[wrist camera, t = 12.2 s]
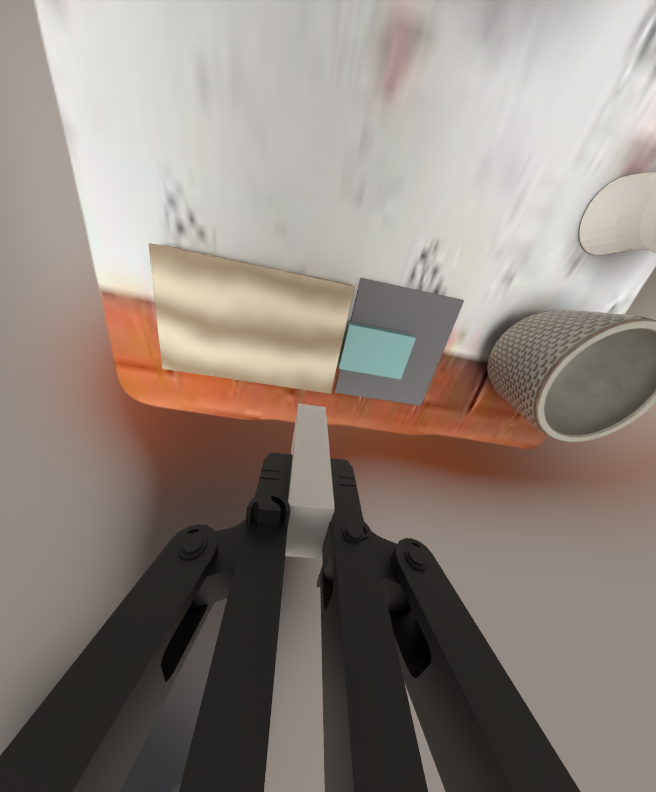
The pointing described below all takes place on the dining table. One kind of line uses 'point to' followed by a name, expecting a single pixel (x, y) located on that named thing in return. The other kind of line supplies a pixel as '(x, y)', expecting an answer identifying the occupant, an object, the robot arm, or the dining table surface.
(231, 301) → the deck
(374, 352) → the teal foam pad
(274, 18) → the dining table surface
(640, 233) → the white vase
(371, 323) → the mat
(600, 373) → the planter
